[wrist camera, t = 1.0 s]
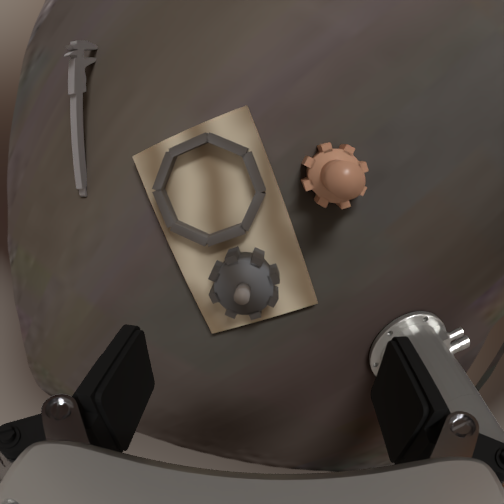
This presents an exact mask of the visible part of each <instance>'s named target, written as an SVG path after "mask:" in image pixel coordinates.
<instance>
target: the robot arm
mask: <svg viewBox="0 0 504 504" xmlns="http://www.w3.org/2000/svg"><path fill="white" fill-rule="evenodd" d="M463 335H464V332H463V329H462V328H461V327H459V328H457V329H455V330H453V331H452V332H450V333H448V332H446V328H445V326H444V324H443V322H442V321H441V320H440V319H439V318H438V317H437V316H436V315H434V314H432V313H430V312H425V311H416V312H412V313H408V314H405V315H403V316H401V317H399V318H397V319H395V320H394V321H392V322H391V323H390V324H388V325H387V326H386V327H385V328H384V329H383V330H382V331H381V332H380V333H379V335H378V336H377V337H376V339H375V340H374V342H373V344H372V347H371V350H370V354H369V363H370V366H371V369H372V371H373V373H374V375H375V376H376V379H375V382H374V384H373V387H372V390H371V399H372V402H373V405H374V408H375V411H376V414H377V418H378V421H379V424H380V427H381V431H382V434H383V437H384V441H385V444H386V448H387V451H388V455H389V458H390V461H391V462H392V463H393V462H394V463H395V465H390V466H384V467H377V468H369V469H362V470H353V471H343V472H331V473H312V474H258V473H242V472H229V471H219V470H210V469H202V468H195V467H188V466H182V465H176V464H171V463H166V462H160V461H156V460H151V459H146V458H142V457H137V456H133V455H129V454H125V453H122V452H123V450H124V451H126V450H127V449H128V447H129V444H130V442H131V440H132V438H133V435H134V433H135V431H136V428H137V426H138V423H139V421H140V419H141V416H142V414H143V412H144V410H145V407H146V405H147V403H148V400H149V398H150V396H151V394H152V391H153V389H154V384H155V383H154V377H153V372H152V368H151V364H150V359H149V354H148V350H147V345H146V340H145V334H144V332H143V331H142V330H140V328H139V327H138V326H133V325H124V326H123V327H122V328H121V329H120V331H119V332H118V333H117V335H116V336H115V337H114V339H113V340H112V342H111V343H110V344H109V346H108V347H107V348H106V350H105V351H104V353H103V354H102V355H101V356H100V357H99V359H98V360H97V361H96V363H95V364H94V366H93V367H92V368H91V370H90V371H89V373H88V374H87V376H86V377H85V378H84V380H83V381H82V383H81V384H80V386H79V387H78V389H77V390H76V392H75V393H74V394H73V396H72V397H71V396H69V395H66V394H57V395H54V396H51V397H50V398H48V399H47V400H46V401H45V402H44V403H43V405H42V408H41V414H38V415H35V416H31V417H28V418H24V419H21V420H17V421H13V422H10V423H6V424H4V425H2V426H0V504H504V431H503V429H502V428H501V427H500V425H499V424H498V422H497V421H496V419H495V418H494V416H493V414H492V413H491V411H490V410H489V408H488V407H487V405H486V404H485V402H484V401H483V399H482V397H481V396H480V394H479V392H478V391H477V389H476V388H475V386H474V385H473V383H472V382H471V381H470V379H469V377H468V376H467V374H466V373H465V371H464V370H463V368H462V367H461V365H460V364H459V363H458V361H457V360H456V358H455V357H454V353H456V352H458V351H462V350H464V349H466V348H468V347H469V346H470V340H469V338H468V336H467V335H465V336H463ZM461 336H463V337H461ZM459 337H461V338H459ZM457 338H459V339H457ZM454 339H457V340H456V341H454V342H452V343H451V341H452V340H454Z"/></svg>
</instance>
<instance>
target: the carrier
mask: <svg viewBox="0 0 504 504" xmlns="http://www.w3.org/2000/svg"><path fill="white" fill-rule="evenodd" d="M133 159H134V162H135V164H136V167H137V169H138V172H139V174H140V177H141V179H142V182H143V184H144V187H145V189H146V192H147V194H148V197H149V199H150V202H151V204H152V206H153V209H154V211H155V213H156V216H157V218H158V220H159V223H160V225H161V227H162V230H163V232H164V234H165V236H166V239H167V241H168V243H169V245H170V248H171V250H172V252H173V254H174V256H175V259H176V261H177V263H178V265H179V267H180V269H181V271H182V274H183V276H184V278H185V280H186V282H187V284H188V286H189V288H190V290H191V292H192V294H193V296H194V298H195V300H196V302H197V305H198V307H199V309H200V311H201V313H202V315H203V316H204V318H205V320H206V322H207V324H208V326H209V328H210V330H211V332H212V334H213V333H217V332H221V331H224V330H228V329H232V328H236V327H239V326H243V325H247V324H250V323H254V322H258V321H261V320H265V319H268V318H272V317H275V316H278V315H282V314H285V313H288V312H292V311H295V310H298V309H302V308H305V307H308V306H311V305H314V304H317V303H318V302H317V298H316V295H315V292H314V288H313V285H312V282H311V279H310V276H309V273H308V270H307V267H306V264H305V261H304V258H303V255H302V252H301V249H300V246H299V243H298V240H297V237H296V234H295V231H294V229H293V226H292V223H291V220H290V217H289V214H288V211H287V209H286V206H285V203H284V200H283V197H282V195H281V192H280V189H279V186H278V184H277V181H276V178H275V176H274V173H273V170H272V167H271V165H270V162H269V160H268V157H267V154H266V152H265V149H264V146H263V144H262V141H261V139H260V136H259V134H258V131H257V128H256V126H255V123H254V121H253V118H252V116H251V113H250V111H249V108H248V106H244V107H241V108H239V109H236V110H233V111H231V112H228V113H226V114H223V115H221V116H218V117H216V118H213V119H211V120H209V121H206V122H204V123H201V124H199V125H197V126H195V127H192V128H190V129H188V130H186V131H183V132H181V133H179V134H177V135H175V136H173V137H170V138H168V139H166V140H164V141H162V142H160V143H158V144H156V145H154V146H152V147H150V148H148V149H146V150H144V151H142V152H140V153H138V154H136V155H134V156H133Z"/></svg>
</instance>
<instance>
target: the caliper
mask: <svg viewBox="0 0 504 504" xmlns="http://www.w3.org/2000/svg"><path fill="white" fill-rule="evenodd" d="M65 48H66V49H67V50H68V51H71V52H68V53H66V54H65V55H64V57H67V56H70V57H71V59H70V60H69V68H68V95H70V115H71V138H72V152H73V163H74V173H75V181H76V189H79V195H80V196H82V197H87V191H86V186H87V171H86V161H85V148H84V131H83V92H86V74H85V67H86V66H88V65H90V64H92V63H94V62H95V61H96V58H94V57H89V58H84V50H96V49H98V47H97V45H95V44H93V43H91V42H89V41H87V40H76V41H73V42H71V43H70V45H68V46H65Z"/></svg>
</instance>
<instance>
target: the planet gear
mask: <svg viewBox="0 0 504 504" xmlns="http://www.w3.org/2000/svg"><path fill="white" fill-rule="evenodd" d="M317 148H318V151H319V152H317V153H316V154H315V155H314V156H313V157H312V158H311V157H309V156H305V157H304V159H303V161H302V163H301V164H303V165H305V166H307V169H306V177H305V178H302V179H301V182H302V185H303V188H304V189H305V190H306V191H309V190H313V191H314V192H315V193H316V195H315V197H314V200H315V202H316V203H317V204H319V205H321V206H323V207H325V208H326V207H327V205H328V203H329V202H330V203H336V204H337V205H338V206H339V207H340V208H341V209H345V208H348V207H351V205H350V202H349V200H351V199H354V198H356V197H357V196H359V195H362V196H363V195H364V193H365V191H366V189H367V187H365V175H364V172H367V171H368V167H367V164H366V162H364V161H358V160H357V159H356V158H355V157H354V156H353V153H354V150H355V148H353V147H351V146H349V145H348V144H340V146H339V149H332V146H331V143H330V142H329V143H323V144H320V145H317Z"/></svg>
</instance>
